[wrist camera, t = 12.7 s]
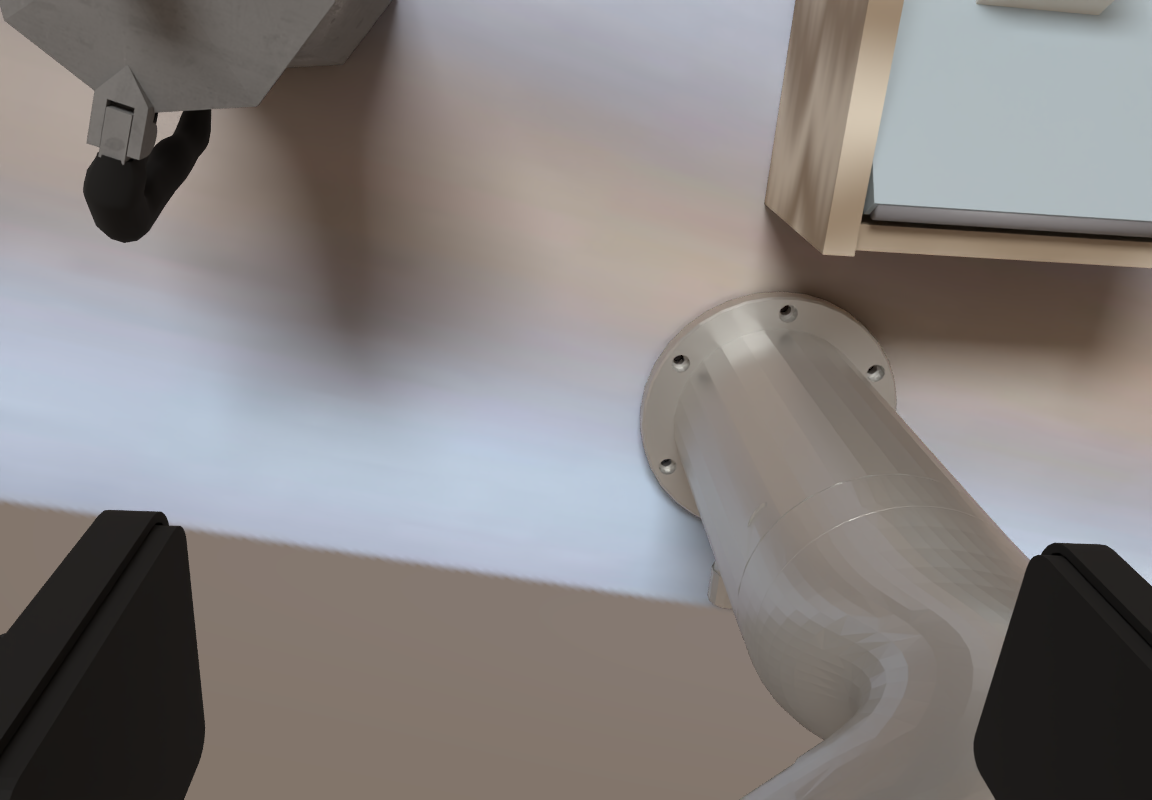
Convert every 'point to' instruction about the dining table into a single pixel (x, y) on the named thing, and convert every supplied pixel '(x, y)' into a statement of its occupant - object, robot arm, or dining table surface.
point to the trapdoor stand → (847, 144)
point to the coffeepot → (176, 78)
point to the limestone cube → (1054, 5)
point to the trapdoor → (1018, 119)
